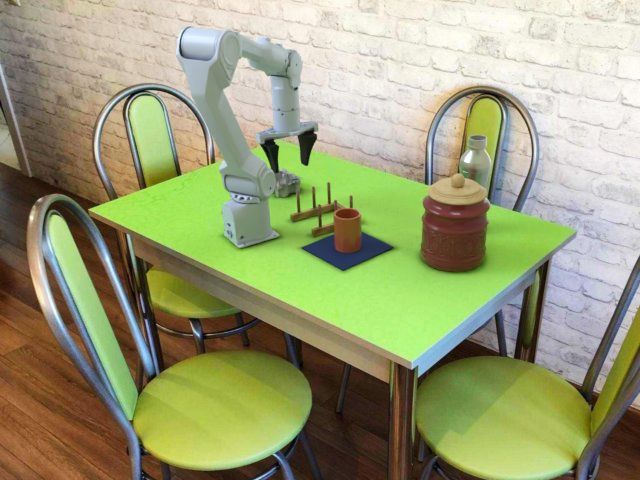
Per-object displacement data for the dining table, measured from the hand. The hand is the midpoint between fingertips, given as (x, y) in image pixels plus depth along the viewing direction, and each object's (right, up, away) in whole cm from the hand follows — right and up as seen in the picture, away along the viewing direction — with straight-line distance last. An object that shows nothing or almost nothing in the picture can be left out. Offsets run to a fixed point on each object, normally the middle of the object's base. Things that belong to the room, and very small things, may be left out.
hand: (290, 168), depth 156 cm
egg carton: (-4, -2, +14) cm, 15 cm away
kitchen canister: (+34, -22, -16) cm, 43 cm away
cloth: (+13, -19, -12) cm, 26 cm away
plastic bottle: (+40, -14, -5) cm, 42 cm away
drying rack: (+8, -12, -1) cm, 15 cm away
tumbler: (+13, -19, -12) cm, 26 cm away
